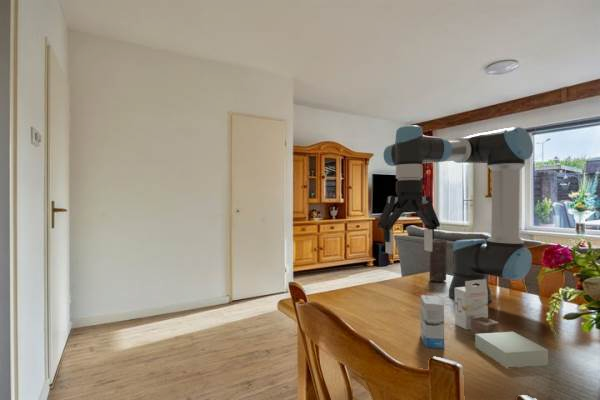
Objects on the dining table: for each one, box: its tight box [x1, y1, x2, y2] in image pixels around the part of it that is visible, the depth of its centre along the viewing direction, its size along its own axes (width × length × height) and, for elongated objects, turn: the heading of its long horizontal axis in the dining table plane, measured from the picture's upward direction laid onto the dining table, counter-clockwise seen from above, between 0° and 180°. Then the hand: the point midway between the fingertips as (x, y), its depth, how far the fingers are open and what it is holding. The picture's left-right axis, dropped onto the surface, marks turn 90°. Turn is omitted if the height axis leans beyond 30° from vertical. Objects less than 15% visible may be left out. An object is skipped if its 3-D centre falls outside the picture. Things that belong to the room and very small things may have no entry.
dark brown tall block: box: [429, 238, 448, 283], centre depth 157 cm, size 8×7×20 cm
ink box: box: [420, 294, 445, 349], centre depth 92 cm, size 8×5×12 cm, turn 168°
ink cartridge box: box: [454, 278, 489, 330], centre depth 103 cm, size 9×5×15 cm, turn 106°
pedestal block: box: [474, 331, 549, 369], centre depth 83 cm, size 11×11×4 cm
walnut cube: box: [470, 317, 500, 339], centre depth 94 cm, size 5×5×5 cm
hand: (409, 252), depth 97 cm, fingers open, 13 cm apart
